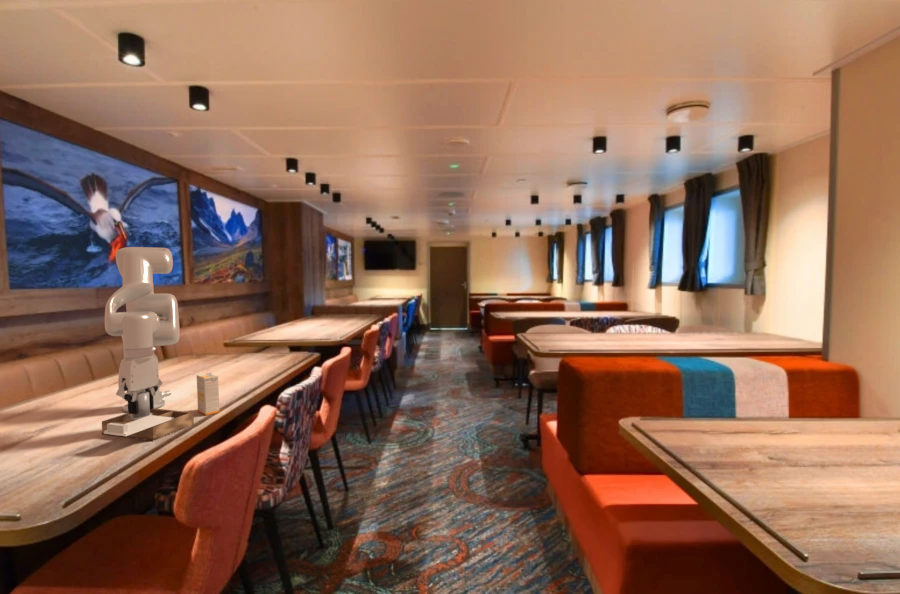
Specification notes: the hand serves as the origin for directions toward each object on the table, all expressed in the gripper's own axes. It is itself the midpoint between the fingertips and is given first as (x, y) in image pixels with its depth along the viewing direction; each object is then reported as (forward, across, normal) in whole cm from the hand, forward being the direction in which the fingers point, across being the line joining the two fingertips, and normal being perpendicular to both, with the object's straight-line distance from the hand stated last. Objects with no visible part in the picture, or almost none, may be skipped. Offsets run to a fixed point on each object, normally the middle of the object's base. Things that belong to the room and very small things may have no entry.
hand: (141, 410), depth 136 cm
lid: (+2, +8, +9) cm, 12 cm away
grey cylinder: (+3, 0, 0) cm, 3 cm away
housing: (+6, 0, +3) cm, 6 cm away
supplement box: (+6, -19, +7) cm, 21 cm away
